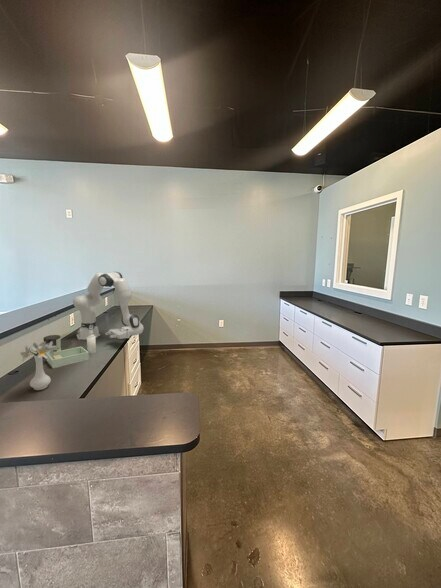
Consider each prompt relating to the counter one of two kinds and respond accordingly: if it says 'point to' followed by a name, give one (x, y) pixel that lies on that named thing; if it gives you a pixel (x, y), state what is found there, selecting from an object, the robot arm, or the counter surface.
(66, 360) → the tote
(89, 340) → the milk bottle
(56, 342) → the coffee can
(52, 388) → the counter surface
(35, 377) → the flower vase
